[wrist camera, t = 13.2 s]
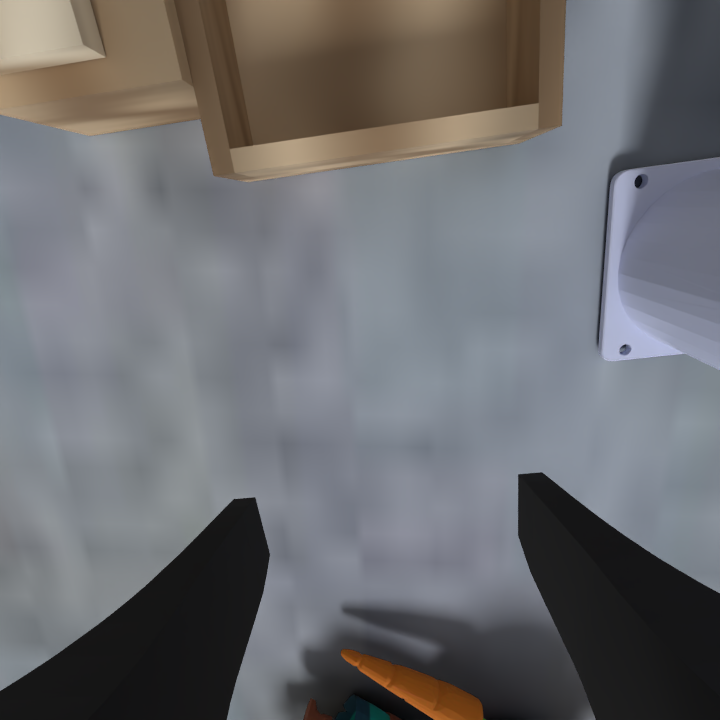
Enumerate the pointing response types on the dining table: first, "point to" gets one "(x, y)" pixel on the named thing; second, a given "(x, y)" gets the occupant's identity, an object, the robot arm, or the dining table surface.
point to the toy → (403, 694)
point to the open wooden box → (311, 78)
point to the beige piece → (47, 34)
